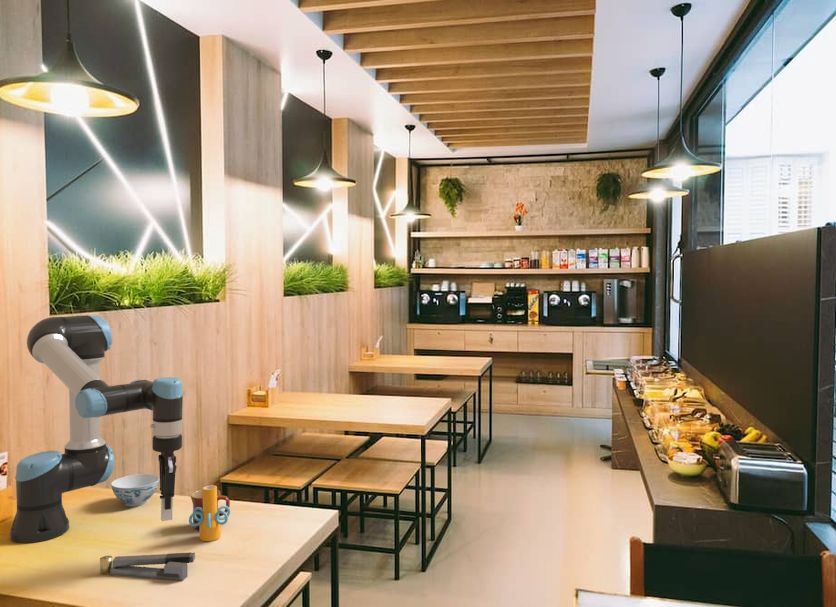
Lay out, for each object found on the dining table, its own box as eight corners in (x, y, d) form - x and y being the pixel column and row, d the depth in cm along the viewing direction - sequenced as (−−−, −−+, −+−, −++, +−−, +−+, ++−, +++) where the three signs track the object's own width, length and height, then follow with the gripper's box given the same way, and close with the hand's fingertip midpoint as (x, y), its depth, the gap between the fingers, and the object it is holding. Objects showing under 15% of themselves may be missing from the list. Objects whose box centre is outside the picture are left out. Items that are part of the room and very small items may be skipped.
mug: (185, 531, 190) (185, 497, 190) (198, 520, 199) (198, 488, 198) (223, 532, 189) (223, 499, 189) (235, 521, 198) (234, 489, 197)
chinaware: (128, 514, 204) (128, 490, 203) (102, 505, 212) (101, 482, 212) (168, 501, 216) (168, 478, 216) (142, 492, 224) (142, 471, 224)
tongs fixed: (97, 574, 162) (97, 559, 162) (104, 569, 165) (104, 555, 165) (182, 581, 158) (181, 566, 158) (187, 576, 161) (187, 561, 161)
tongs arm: (112, 567, 162) (112, 560, 162) (116, 562, 165) (115, 556, 165) (192, 562, 165) (192, 556, 164) (195, 558, 167) (195, 552, 167)
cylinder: (238, 533, 188) (238, 484, 188) (216, 547, 178) (216, 495, 178) (204, 528, 192) (204, 480, 192) (181, 541, 182) (180, 490, 182)
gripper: (149, 430, 175) (148, 513, 176) (156, 442, 164) (155, 530, 165) (177, 427, 179) (176, 509, 180) (186, 439, 168) (185, 525, 169)
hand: (166, 519), depth 173 cm, fingers closed
